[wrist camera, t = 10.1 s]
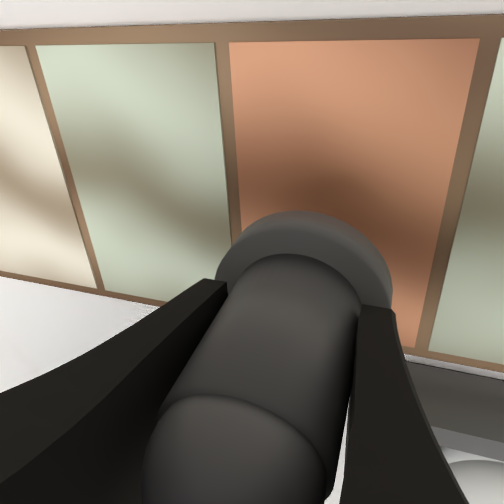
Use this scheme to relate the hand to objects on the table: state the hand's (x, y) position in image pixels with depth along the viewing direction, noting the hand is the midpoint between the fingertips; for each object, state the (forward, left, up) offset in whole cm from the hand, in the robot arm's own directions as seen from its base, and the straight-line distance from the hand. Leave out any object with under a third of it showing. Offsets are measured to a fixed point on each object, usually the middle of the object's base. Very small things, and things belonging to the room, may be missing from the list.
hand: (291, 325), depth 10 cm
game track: (0, +4, -7) cm, 8 cm away
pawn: (0, 0, -2) cm, 2 cm away
